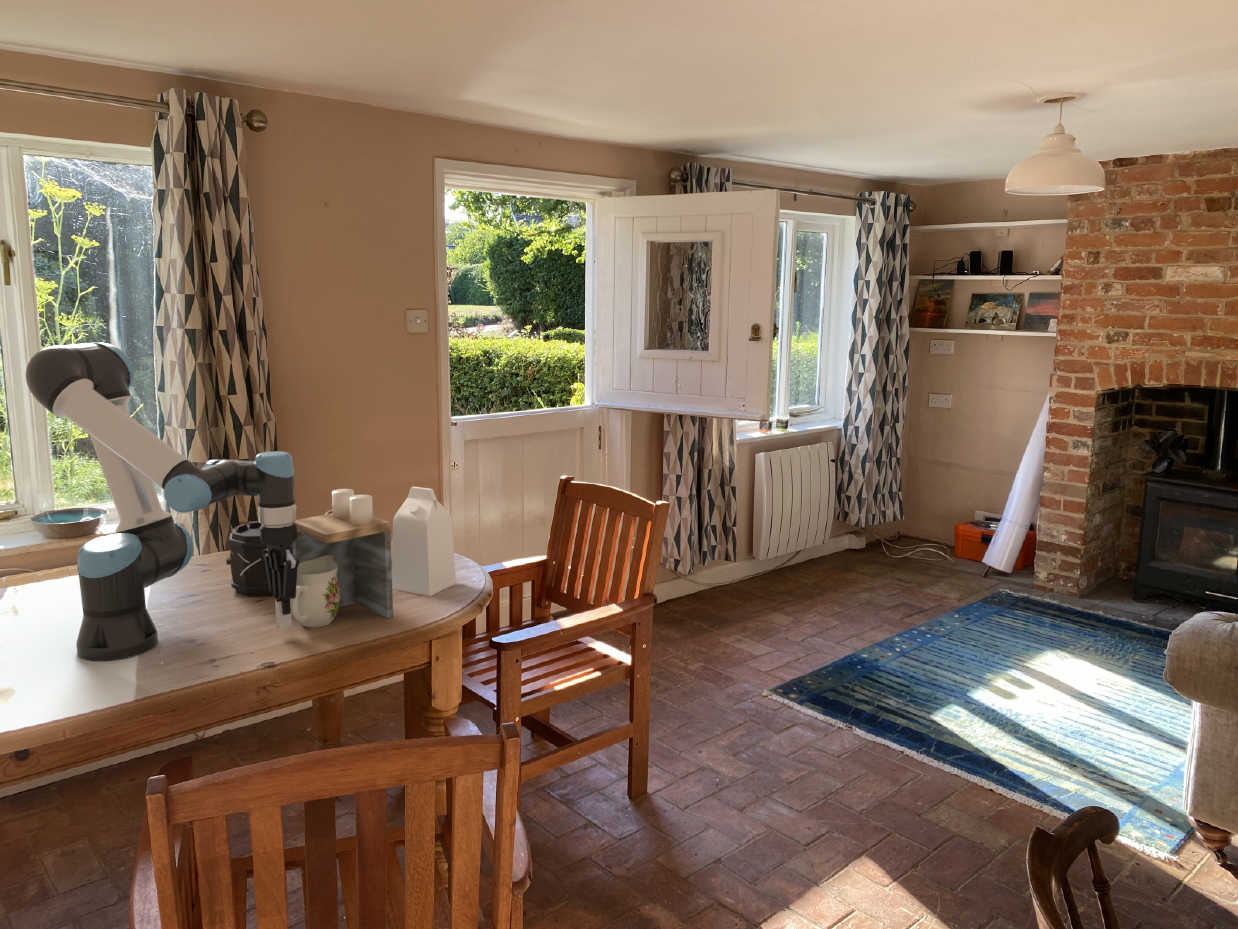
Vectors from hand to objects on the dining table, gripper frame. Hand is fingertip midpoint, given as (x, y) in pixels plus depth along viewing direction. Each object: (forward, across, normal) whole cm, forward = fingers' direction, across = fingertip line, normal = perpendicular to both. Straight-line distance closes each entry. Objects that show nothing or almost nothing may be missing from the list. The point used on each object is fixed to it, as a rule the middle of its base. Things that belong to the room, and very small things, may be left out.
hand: (284, 626), depth 201 cm
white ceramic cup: (-21, -2, -19) cm, 28 cm away
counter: (+2, +2, -16) cm, 16 cm away
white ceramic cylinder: (-21, +6, -19) cm, 29 cm away
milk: (+2, +8, -42) cm, 42 cm away
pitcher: (+2, +2, -8) cm, 9 cm away
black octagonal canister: (+2, +34, -11) cm, 36 cm away
